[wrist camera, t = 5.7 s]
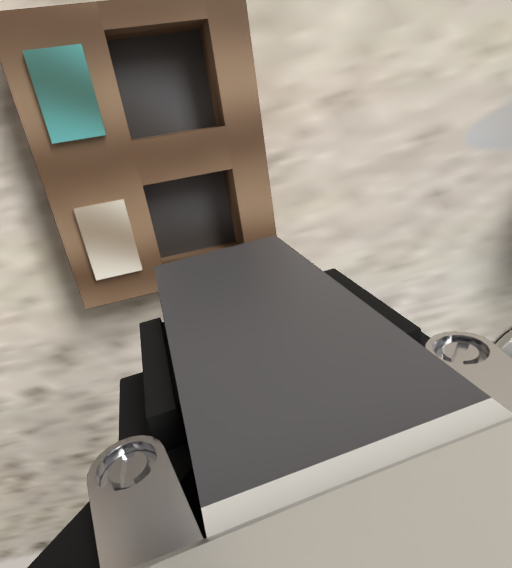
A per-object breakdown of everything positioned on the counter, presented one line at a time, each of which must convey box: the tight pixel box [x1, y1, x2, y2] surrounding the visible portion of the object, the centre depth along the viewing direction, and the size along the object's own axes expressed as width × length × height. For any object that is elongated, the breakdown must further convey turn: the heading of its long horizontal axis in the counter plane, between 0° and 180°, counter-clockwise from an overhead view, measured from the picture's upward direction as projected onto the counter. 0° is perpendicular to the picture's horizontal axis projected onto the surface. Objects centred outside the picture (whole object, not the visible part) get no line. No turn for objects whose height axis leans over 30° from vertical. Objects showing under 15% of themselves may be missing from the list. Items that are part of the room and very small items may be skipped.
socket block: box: [0, 0, 276, 309], centre depth 26 cm, size 16×13×4 cm
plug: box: [154, 235, 512, 537], centre depth 10 cm, size 4×4×10 cm
